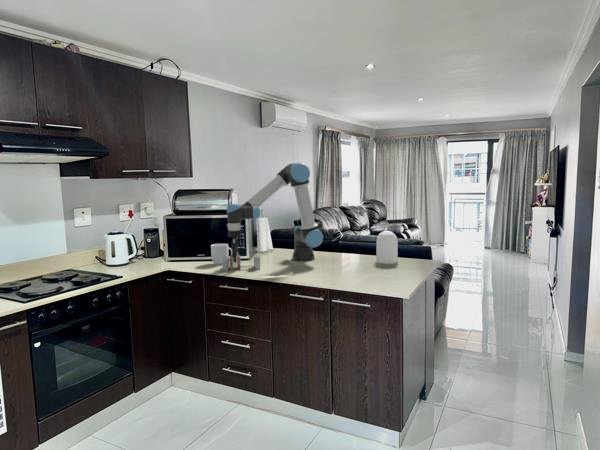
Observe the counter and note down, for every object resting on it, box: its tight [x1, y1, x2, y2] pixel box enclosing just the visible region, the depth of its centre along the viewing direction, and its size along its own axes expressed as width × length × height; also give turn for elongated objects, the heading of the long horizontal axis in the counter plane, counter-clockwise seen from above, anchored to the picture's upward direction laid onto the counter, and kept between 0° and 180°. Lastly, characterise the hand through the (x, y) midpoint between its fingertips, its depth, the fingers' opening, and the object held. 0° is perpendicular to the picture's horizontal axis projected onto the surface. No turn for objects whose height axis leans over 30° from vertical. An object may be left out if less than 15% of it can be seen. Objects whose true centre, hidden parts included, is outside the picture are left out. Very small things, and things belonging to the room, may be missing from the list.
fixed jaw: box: [221, 256, 230, 272], centre depth 248 cm, size 3×8×7 cm, turn 6°
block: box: [229, 254, 242, 271], centre depth 248 cm, size 6×6×8 cm
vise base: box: [218, 265, 261, 274], centre depth 249 cm, size 25×12×2 cm, turn 96°
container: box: [375, 230, 399, 265], centre depth 265 cm, size 14×13×20 cm
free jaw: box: [253, 254, 261, 270], centre depth 250 cm, size 3×8×7 cm, turn 6°
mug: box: [210, 243, 232, 266], centre depth 268 cm, size 15×11×13 cm
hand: (235, 265), depth 248 cm, fingers open, 13 cm apart
